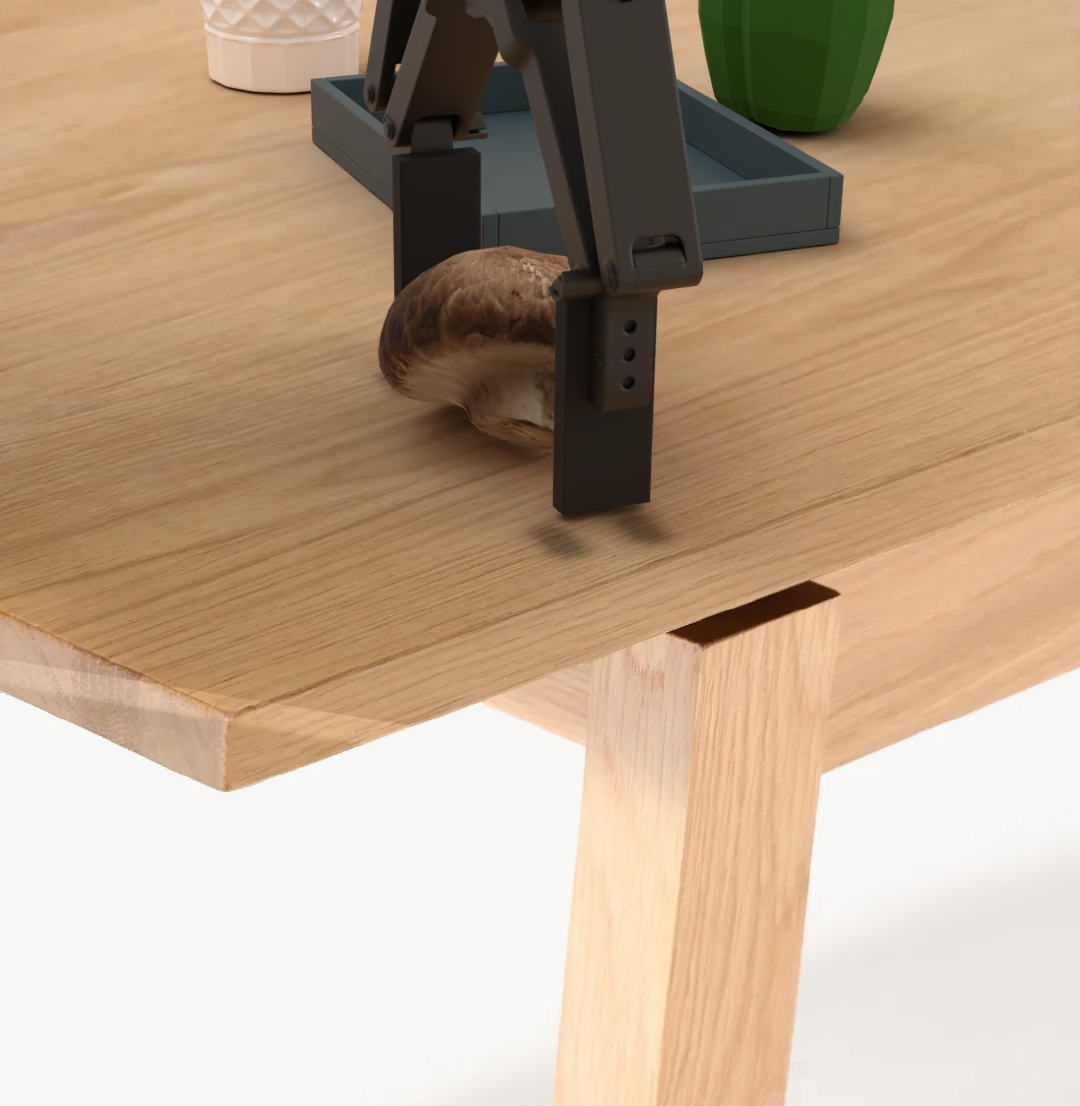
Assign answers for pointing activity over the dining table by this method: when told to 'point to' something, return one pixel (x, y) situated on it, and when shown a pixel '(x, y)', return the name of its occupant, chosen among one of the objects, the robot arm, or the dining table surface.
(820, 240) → the tray
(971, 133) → the dining table surface
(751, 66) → the bell pepper
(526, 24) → the robot arm
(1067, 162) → the dining table surface
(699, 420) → the dining table surface
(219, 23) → the white cup
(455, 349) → the mushroom
